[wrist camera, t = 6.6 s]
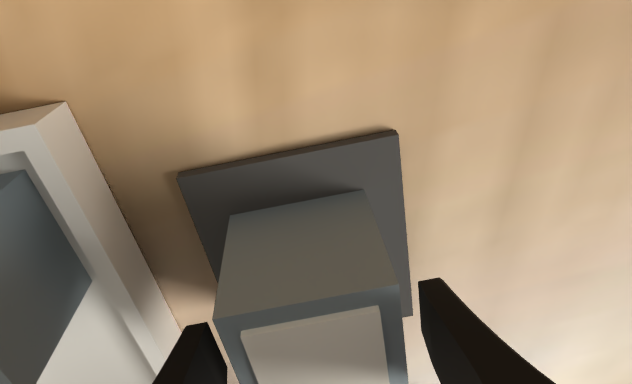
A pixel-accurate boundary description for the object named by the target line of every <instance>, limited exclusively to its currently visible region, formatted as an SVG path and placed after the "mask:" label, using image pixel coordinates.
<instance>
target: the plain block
mask: <svg viewBox="0 0 632 384" xmlns="http://www.w3.org/2000/svg"><path fill="white" fill-rule="evenodd" d="M91 283H92V279H91V278H90V276H89V274H88V273H87V271H86V269H85V268H84V266H83V264H82V263H81V261H80V259H79V258H78V256H77V254H76V253H75V251H74V249H73V248H72V246H71V245H70V243H69V241H68V240H67V238H66V236H65V235H64V233H63V231H62V230H61V228H60V226H59V225H58V223H57V221H56V220H55V218H54V216H53V215H52V213H51V211H50V210H49V208H48V206H47V205H46V203H45V201H44V200H43V198H42V196H41V195H40V193H39V192H38V190H37V188H36V187H35V185H34V183H33V182H32V180H31V178H30V177H29V175H28V173H27V172H26V170H25V169H24V170H19V171H14V172H9V173H4V174H0V384H36V383H37V381H38V379H39V378H40V376H41V374H42V372H43V370H44V369H45V367H46V365H47V363H48V361H49V359H50V358H51V356H52V354H53V352H54V350H55V349H56V347H57V345H58V343H59V341H60V339H61V338H62V336H63V334H64V332H65V330H66V328H67V327H68V325H69V323H70V321H71V319H72V318H73V316H74V314H75V312H76V310H77V308H78V307H79V305H80V303H81V301H82V299H83V297H84V296H85V294H86V292H87V290H88V288H89V287H90V285H91Z"/></svg>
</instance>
